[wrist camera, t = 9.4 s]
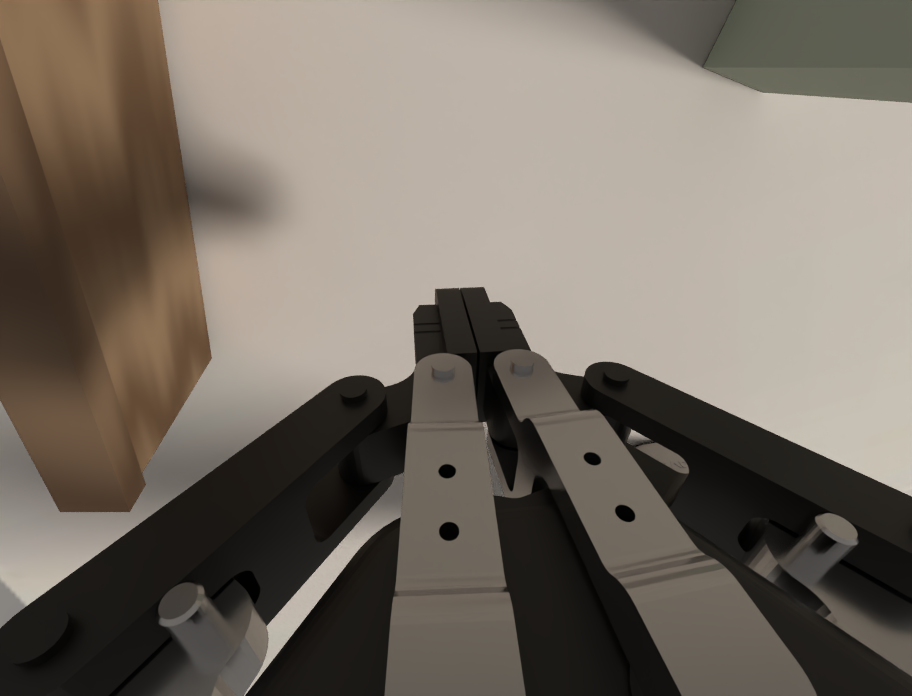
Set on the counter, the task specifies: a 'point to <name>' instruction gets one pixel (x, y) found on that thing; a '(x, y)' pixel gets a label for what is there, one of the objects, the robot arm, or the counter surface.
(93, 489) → the gate
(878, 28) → the latch post
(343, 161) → the counter surface
